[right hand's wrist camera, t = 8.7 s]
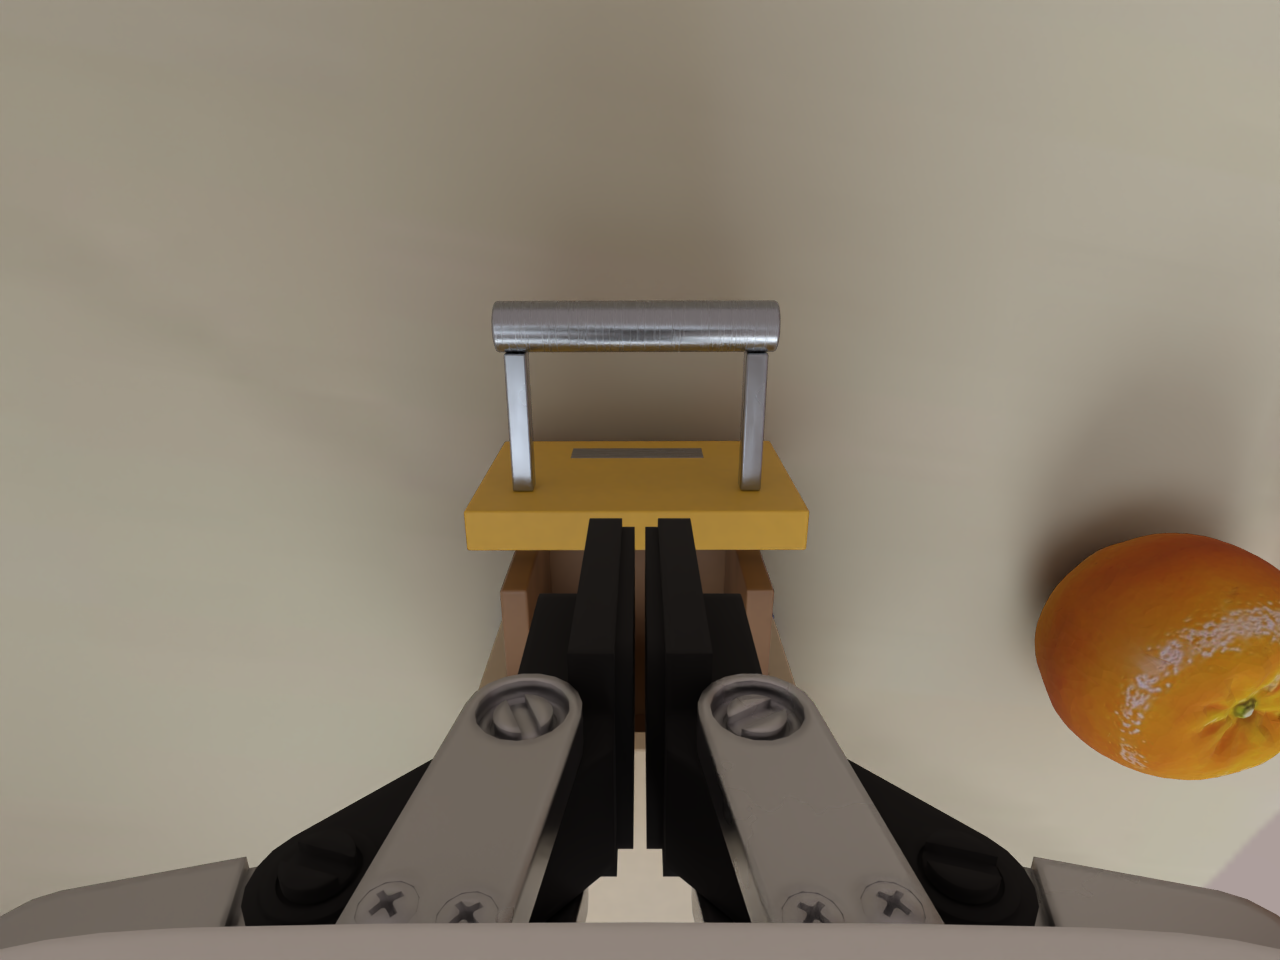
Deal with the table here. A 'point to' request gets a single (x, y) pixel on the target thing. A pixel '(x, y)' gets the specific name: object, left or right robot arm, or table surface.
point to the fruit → (1167, 655)
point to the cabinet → (639, 833)
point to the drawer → (635, 467)
